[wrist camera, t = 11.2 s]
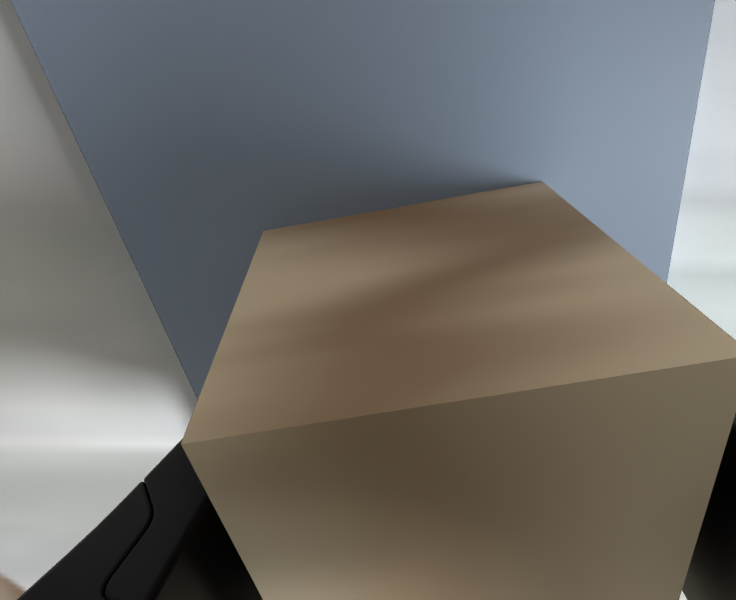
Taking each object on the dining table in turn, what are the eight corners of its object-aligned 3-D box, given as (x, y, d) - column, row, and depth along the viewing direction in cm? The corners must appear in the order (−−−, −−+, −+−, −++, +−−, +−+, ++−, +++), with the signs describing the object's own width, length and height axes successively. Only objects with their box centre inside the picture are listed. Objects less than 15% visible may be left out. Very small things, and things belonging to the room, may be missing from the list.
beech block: (542, 181, 8) (752, 355, 4) (539, 394, 11) (666, 642, 7) (263, 231, 9) (180, 445, 4) (323, 428, 11) (309, 687, 7)
